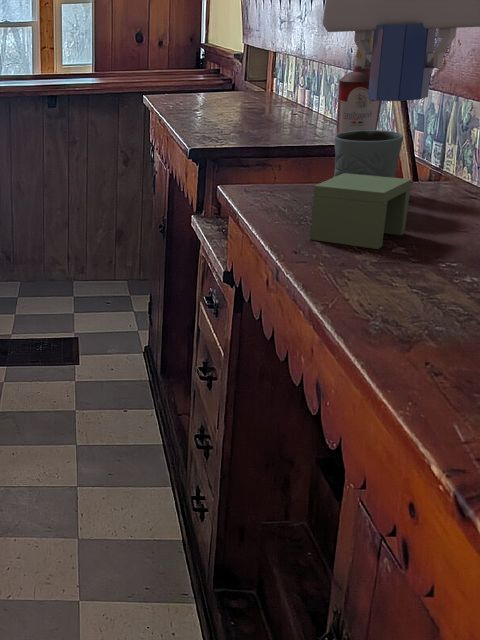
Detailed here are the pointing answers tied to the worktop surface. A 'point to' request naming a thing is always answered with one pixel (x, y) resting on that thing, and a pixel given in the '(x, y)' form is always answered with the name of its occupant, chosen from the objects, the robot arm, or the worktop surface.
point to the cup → (400, 62)
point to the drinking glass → (367, 152)
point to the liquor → (357, 99)
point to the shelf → (359, 209)
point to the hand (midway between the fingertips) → (400, 68)
